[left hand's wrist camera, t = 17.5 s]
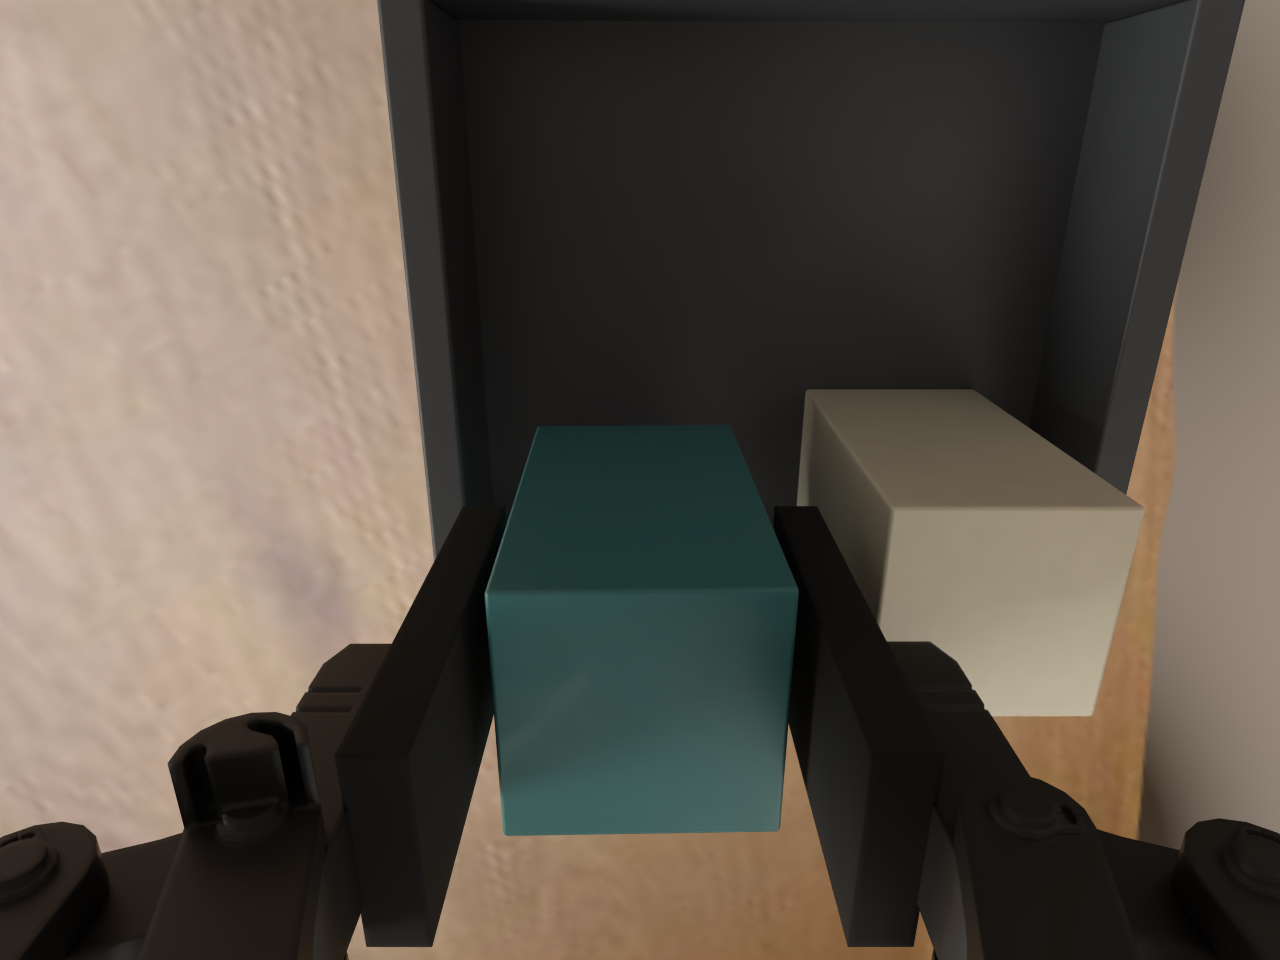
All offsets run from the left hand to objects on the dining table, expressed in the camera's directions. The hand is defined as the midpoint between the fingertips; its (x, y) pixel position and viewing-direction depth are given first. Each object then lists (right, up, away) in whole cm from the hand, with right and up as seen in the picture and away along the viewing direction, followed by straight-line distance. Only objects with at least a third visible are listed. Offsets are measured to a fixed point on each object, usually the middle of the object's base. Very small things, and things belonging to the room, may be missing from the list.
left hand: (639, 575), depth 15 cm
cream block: (+6, +2, +5) cm, 8 cm away
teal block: (0, +1, +3) cm, 3 cm away
